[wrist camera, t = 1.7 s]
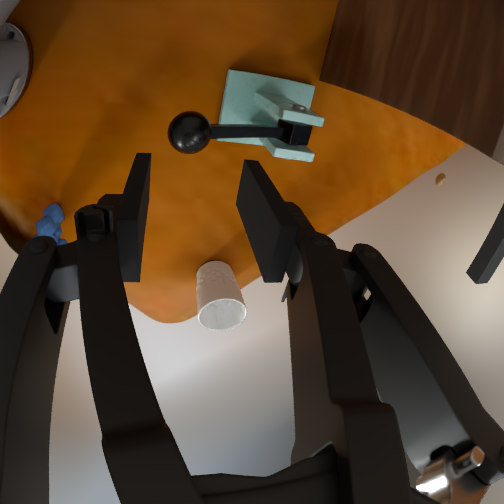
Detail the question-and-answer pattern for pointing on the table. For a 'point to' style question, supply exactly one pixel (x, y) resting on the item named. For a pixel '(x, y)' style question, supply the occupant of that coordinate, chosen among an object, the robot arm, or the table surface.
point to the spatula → (489, 253)
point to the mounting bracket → (268, 109)
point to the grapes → (51, 223)
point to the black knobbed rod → (229, 132)
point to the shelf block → (426, 62)
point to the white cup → (219, 297)
